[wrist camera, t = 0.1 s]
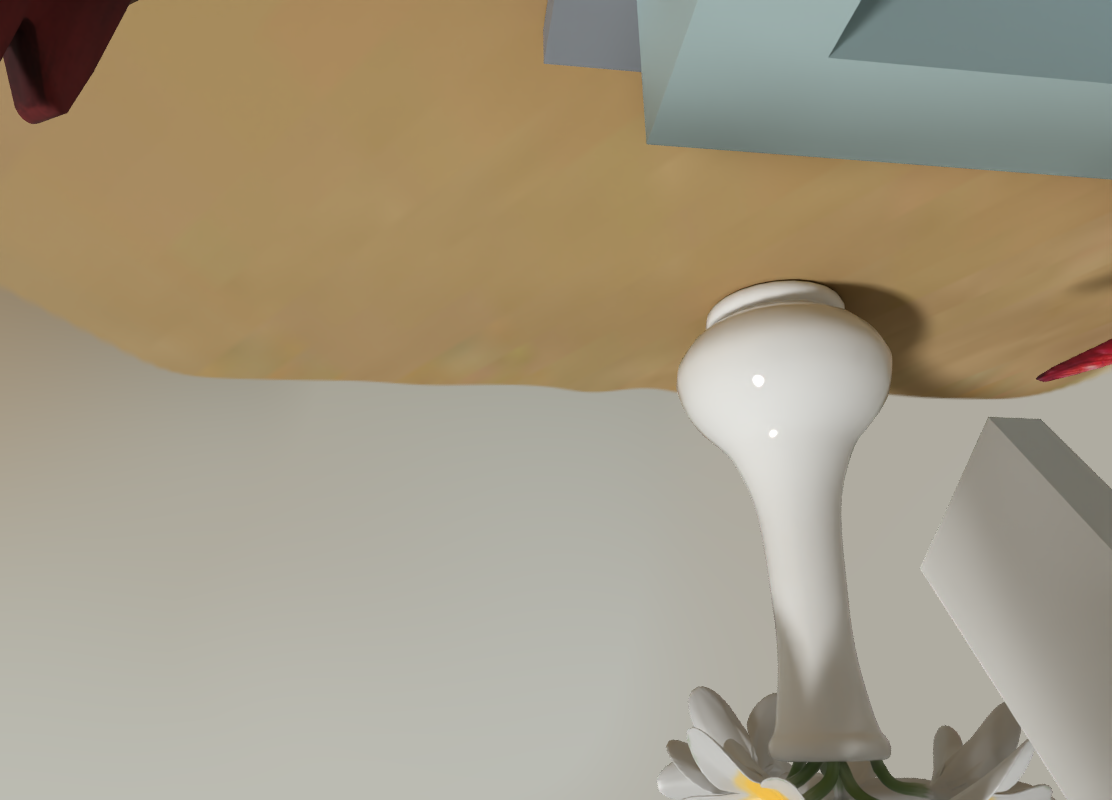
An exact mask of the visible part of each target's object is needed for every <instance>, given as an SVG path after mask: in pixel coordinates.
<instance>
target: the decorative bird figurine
mask: <svg viewBox="0 0 1112 800" xmlns="http://www.w3.org/2000/svg"><path fill="white" fill-rule="evenodd" d="M1110 364H1112V339H1110V340H1108V341H1106V342H1105V343H1102V344H1100V345H1098V346H1096V347H1094V348H1092V349H1089V350H1087V351H1085V352H1084V353H1081V354H1079V355H1077V356H1075V357H1073V358H1071V359H1069V360H1067V361H1065V362H1062V363H1060V364H1058V365H1056V366H1054V367H1052V368H1050V369H1049V370H1047V371H1046V372H1044V373H1042V374H1041V375H1039V376H1038V377H1037V378H1036V379H1037V380H1039V381H1043V382H1046V381H1052V380H1055V379H1059V378H1063V377H1068V376H1072V375H1076V374H1079V373H1082V372H1086V371H1089V370H1093V369H1098V368H1101V367H1104V366H1107V365H1110Z"/></svg>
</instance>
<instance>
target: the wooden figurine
mask: <svg viewBox="0 0 1112 800" xmlns="http://www.w3.org/2000/svg"><path fill="white" fill-rule="evenodd" d="M136 1H138V0H0V61H1V59H2V57H3V58H4V62H5V66H6V71H7V75H8V79H9V83H10V88H11V92H12V96H13V101H14V105H15V108H16V110H17V112H18V114H19V115H20V116H21V117H22V118H23V119H24V120H25V121H27V122H28V123H31V124H37V123H41V122H43V121H46V120H49V119H52V118H55V117H57V116H60V115H63V114H66V113H67V112H68V111H69V109H70V108H71V106H72V105H73V103H74V101H75V100H76V98H77V97H78V95H79V94H80V92H81V91H82V89H83V87H84V86H85V84H86V83H87V81H88V80H89V78H90V76H91V75H92V73H93V72H94V70H95V68H96V66H97V64H98V62H99V60H100V59H101V57H102V55H103V53H104V51H105V49H106V47H107V45H108V43H109V41H110V40H111V38H112V36H113V34H114V32H115V30H116V28H117V26H118V24H119V23H120V21H121V19H122V17H123V15H124V13H125V11H126V9H127V7H128V6H129V5H130V4H132V3H134V2H136Z"/></svg>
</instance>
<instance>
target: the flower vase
mask: <svg viewBox="0 0 1112 800" xmlns="http://www.w3.org/2000/svg"><path fill="white" fill-rule="evenodd" d="M891 380H892V354H891V350H890V348H889V346H888V345H887V343H886V342H885V341H884V339H883V338H882V337H881V335H880V334H879V333H878V332H877V331H876V330H875V328H874V327H872V326H871V325H870V324H869V323H868V322H866V321H865V320H863V319H862V318H860V317H858V316H856V315H855V314H853V313H851V312H849V311H847V310H845V305H844V302H843V300H842V299H841V298H840V296H839V295H838V294H837V293H836V292H835V291H833V290H832V289H830V288H828V287H826V286H824V285H820V284H817V283H813V282H807V281H794V280H791V281H774V282H769V283H763V284H758V285H754V286H751V287H748V288H745V289H741V290H739V291H737V292H735V293H733V294H731V295H729V296H726V297H725V298H724V299H722V300H721V301H720V302H718V303H717V304H716V305H715V306H714V307H713V308H712V310H711V311H710V313H709V314H708V317H707V322H706V330H705V331H704V332H703V333H702V334H700V335H699V336H698V338H697V339H696V340H695V341H694V343H693V344H692V345H691V347H690V348H689V349H688V351H687V352H686V354H685V355H684V357H683V358H682V360H681V363H680V365H679V369H678V375H677V392H678V396H679V399H680V401H681V404H682V406H683V408H684V410H685V412H686V414H687V415H688V417H689V419H690V420H691V422H692V423H693V424H694V426H695V427H696V428H697V429H698V431H699V432H700V433H702V435H703V436H704V437H706V438H707V439H708V440H709V441H710V442H712V443H713V444H714V445H715V446H717V447H718V448H719V449H720V450H722V451H723V452H724V453H725V454H726V455H727V456H728V457H729V458H730V459H731V461H732V462H733V463H734V465H735V467H736V468H737V470H738V471H739V473H740V475H741V477H742V479H743V480H744V482H745V484H746V486H747V488H748V491H749V493H750V496H751V498H752V501H753V503H754V507H755V510H756V514H757V517H758V521H759V526H760V530H761V535H762V540H763V546H764V552H765V558H766V565H767V572H768V577H769V585H770V591H771V599H772V605H773V612H774V620H775V629H776V638H777V653H778V687H777V688H778V689H777V693H773V694H770V695H768V696H766V697H765V698H763V699H762V700H761V701H760V702H758V704H757V705H756V706H755V707H754V709H753V710H752V712H751V714H750V716H749V718H748V721H747V729H748V733H747V731H746V729H745V728H744V727H743V726H742V724H741V722H740V721H739V720H738V718H737V717H736V715H735V714H734V712H733V711H732V709H731V708H730V706H729V705H728V704H727V703H726V702H725V700H723V699H722V698H721V696H720V695H718V694H717V693H716V692H715V691H713V690H711V689H709V688H707V687H703V686H702V687H697V688H696V689H694V690H693V691H692V692H691V694H690V697H689V713H690V717H691V721H692V724H693V726H694V727H693V728H690V729H688V730H687V741H688V743H685V742H682V741H679V740H671V741H669V742H668V744H667V746H666V748H667V752H668V754H669V757H670V758H671V759H672V761H673V762H671V763H670V764H669V765H667V766H666V767H665V768H664V769H663V770H662V771H661V772H660V774H659V776H658V779H657V786H658V790H659V791H660V792H661V794H663V795H665V796H666V797H669V798H671V799H675V800H1055V799H1054V798H1053V797H1051V796H1052V788H1051V787H1050V786H1049V785H1046V784H1042V785H1041V784H1040V785H1035V786H1032V785H1029V784H1026V783H1022V782H1019V781H1018V780H1019V779H1020V777H1021V776H1022V775H1023V774H1024V772H1025V770H1026V768H1027V767H1028V765H1029V762H1030V760H1031V758H1032V756H1033V752H1034V750H1035V749H1034V747H1033V746H1032V744H1031V743H1030V741H1029V739H1027V740H1026V741H1025V742H1024V743H1022V744H1021V745H1020V746H1019V747H1018V748H1017V749H1016V747H1017V745H1018V742H1019V737H1020V733H1021V727H1020V725H1019V724H1018V722H1017V721H1016V719H1015V717H1014V716H1013V714H1012V713H1011V711H1010V710H1009V708H1008V706H1007V705H1006V703H1005V702H1003V703H1002V704H1000V705H998V706H997V707H996V708H995V709H994V710H993V711H992V712H991V713H990V715H989V716H988V717H987V718H986V719H985V721H984V722H983V723H982V725H981V726H980V727H979V728H978V730H977V731H976V732H975V734H974V735H973V736H972V737H971V739H970V740H968V742H966V743H965V744H964V745H963V744H962V741H961V738H960V736H959V735H958V733H957V732H956V731H955V730H954V729H953V728H951V727H950V726H946V725H945V726H941V727H940V728H939V729H938V731H937V733H936V735H935V739H934V747H933V755H934V756H933V763H934V771H933V776H932V780H931V781H930V780H926V779H918V778H894V777H893V776H891V774H890V773H889V771H888V770H887V768H886V766H885V765H884V763H883V760H885V759H888V758H889V757H890V755H891V746H890V743H889V741H888V739H887V738H886V736H885V735H884V734H883V733H882V732H881V730H880V728H879V726H878V723H877V721H876V718H875V716H874V713H873V710H872V707H871V704H870V701H869V697H868V694H867V691H866V688H865V684H864V681H863V677H862V674H861V670H860V666H859V663H858V658H857V653H856V649H855V643H854V638H853V632H852V625H851V618H850V610H849V601H848V592H847V582H846V572H845V562H844V553H843V542H842V523H841V505H842V503H841V502H842V491H843V485H844V479H845V475H846V471H847V467H848V464H849V460H850V457H851V454H852V451H853V449H854V446H855V444H856V442H857V441H858V439H859V437H860V436H861V435H862V434H863V432H864V431H865V430H866V429H867V428H868V426H869V425H870V424H871V423H872V421H873V420H874V419H875V417H876V416H877V415H878V413H879V412H880V410H881V408H882V407H883V405H884V403H885V401H886V399H887V397H888V394H889V391H890V387H891ZM748 734H749V735H748ZM788 762H793V765H790V764H789V763H788ZM807 762H808V763H807ZM806 763H807V764H806ZM819 769H820V770H821V773H822V774H821V773H817V772H818V770H819ZM875 777H878V778H875Z"/></svg>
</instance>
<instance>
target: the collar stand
mask: <svg viewBox="0 0 1112 800" xmlns="http://www.w3.org/2000/svg"><path fill="white" fill-rule="evenodd" d="M543 37H544V64H556V65H567V66H579V67H590V68H602V69H613V70H625V71H636V72H642V85H643V99H644V114H645V128H646V142H647V144H651V145H664V146H677V147H691V148H704V149H717V150H730V151H743V152H757V153H770V154H783V155H796V156H809V157H823V158H836V159H849V160H862V161H875V162H889V163H902V164H915V165H928V166H941V167H955V168H968V169H981V170H994V171H1007V172H1021V173H1034V174H1047V175H1060V176H1073V177H1087V178H1100V179H1112V0H548V3H547V10H546V16H545V23H544V29H543Z"/></svg>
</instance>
